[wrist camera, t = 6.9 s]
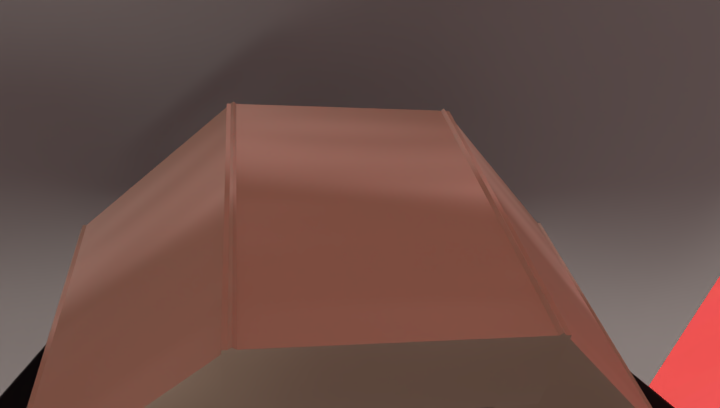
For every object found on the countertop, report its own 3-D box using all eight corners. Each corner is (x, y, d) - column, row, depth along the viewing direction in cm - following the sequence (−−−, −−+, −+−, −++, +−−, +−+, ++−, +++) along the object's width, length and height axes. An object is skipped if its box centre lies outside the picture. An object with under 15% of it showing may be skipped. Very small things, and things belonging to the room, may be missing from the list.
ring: (471, 406, 13) (544, 620, 10) (119, 430, 12) (77, 687, 9) (584, 113, 9) (770, 323, 6) (55, 95, 8) (-72, 360, 4)
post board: (610, 366, 19) (716, 550, 15) (-118, 405, 15) (-256, 672, 11) (898, -140, 11) (1325, -50, 7) (-538, -339, 7) (-1784, -435, 3)
